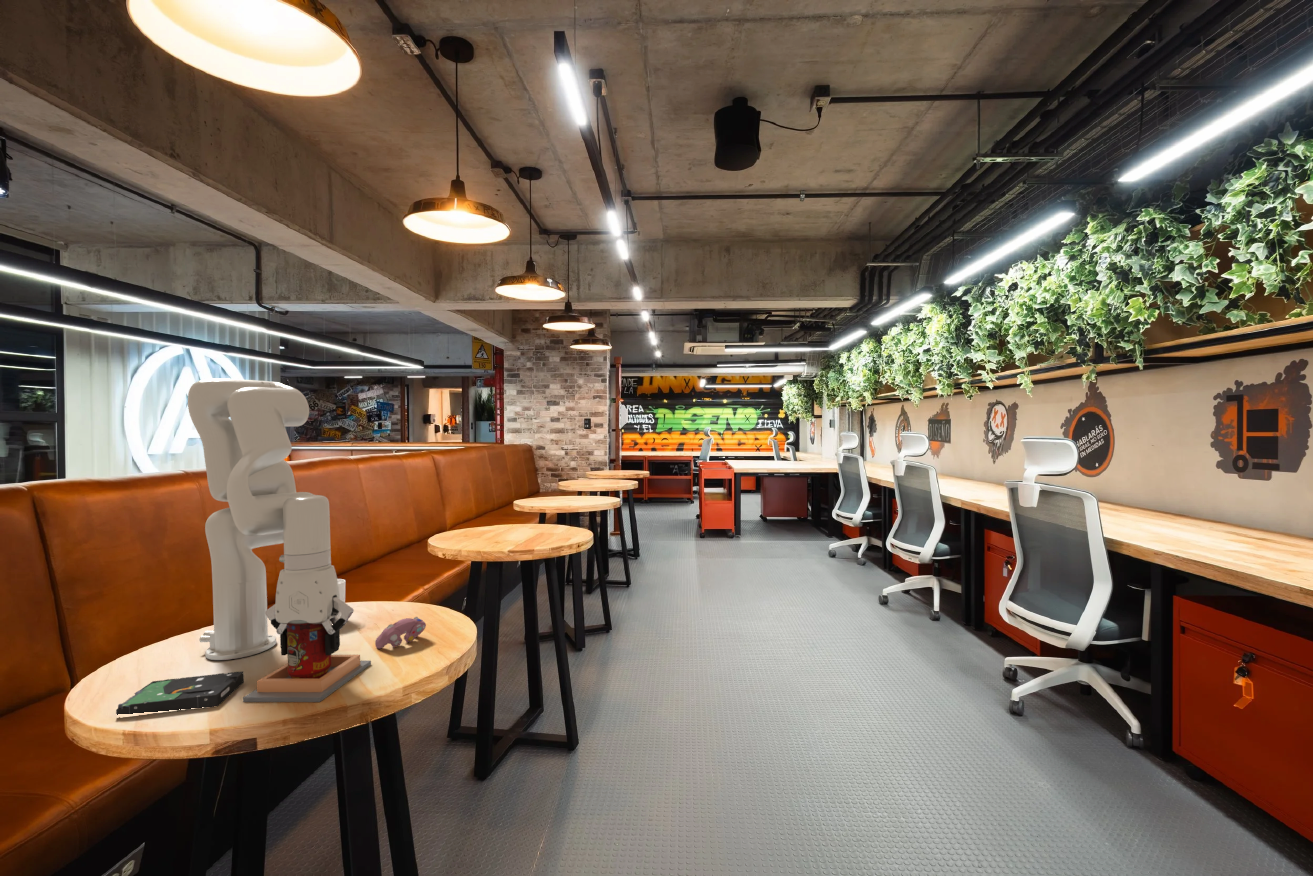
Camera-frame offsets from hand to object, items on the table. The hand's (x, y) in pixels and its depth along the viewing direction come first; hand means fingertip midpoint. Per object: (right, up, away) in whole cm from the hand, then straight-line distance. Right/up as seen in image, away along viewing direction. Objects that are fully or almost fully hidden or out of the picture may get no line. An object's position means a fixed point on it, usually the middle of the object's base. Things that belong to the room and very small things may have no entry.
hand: (310, 652), depth 107 cm
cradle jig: (0, -6, 0) cm, 6 cm away
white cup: (-17, -6, +35) cm, 39 cm away
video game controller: (+9, -6, +19) cm, 22 cm away
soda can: (0, -5, 0) cm, 5 cm away
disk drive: (-19, -7, -6) cm, 21 cm away
